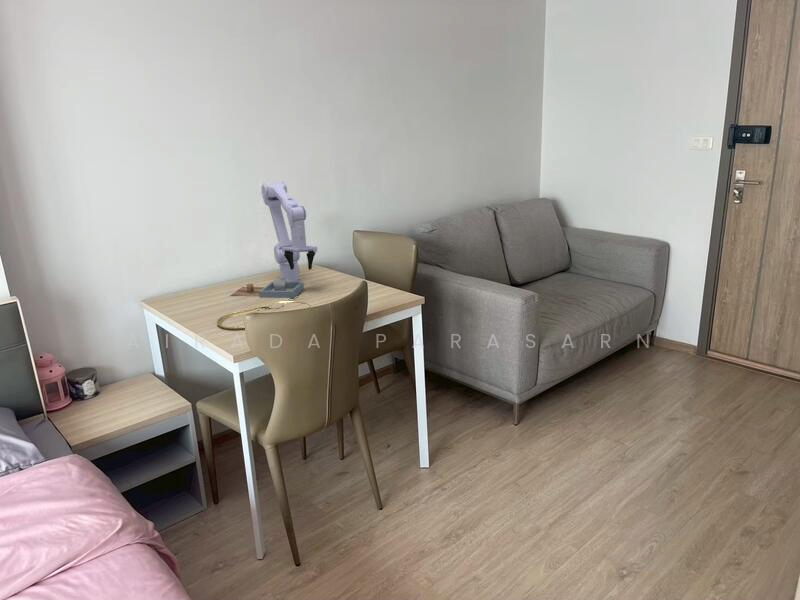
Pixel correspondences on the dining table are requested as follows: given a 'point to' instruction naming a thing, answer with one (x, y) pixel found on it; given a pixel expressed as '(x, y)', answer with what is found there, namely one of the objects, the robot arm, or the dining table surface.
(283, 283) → the metal block
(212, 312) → the dining table surface
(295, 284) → the bin
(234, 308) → the dining table surface
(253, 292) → the stud base
